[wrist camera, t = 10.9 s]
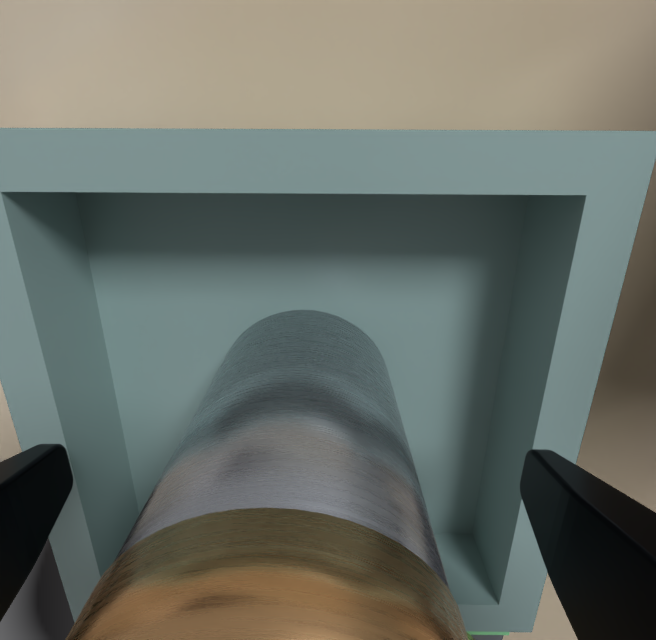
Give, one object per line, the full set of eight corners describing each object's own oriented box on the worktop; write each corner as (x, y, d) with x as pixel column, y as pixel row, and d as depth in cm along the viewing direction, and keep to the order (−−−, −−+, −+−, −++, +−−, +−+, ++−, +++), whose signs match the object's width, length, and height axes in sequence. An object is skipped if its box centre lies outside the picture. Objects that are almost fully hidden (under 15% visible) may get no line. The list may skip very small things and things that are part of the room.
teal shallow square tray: (491, 536, 14) (531, 632, 11) (126, 532, 14) (75, 625, 11) (566, 139, 10) (662, 130, 7) (41, 136, 10) (-78, 127, 7)
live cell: (387, 460, 12) (512, 1098, 4) (226, 460, 12) (3, 1095, 4) (395, 307, 10) (638, 830, 2) (210, 308, 10) (-224, 825, 2)
